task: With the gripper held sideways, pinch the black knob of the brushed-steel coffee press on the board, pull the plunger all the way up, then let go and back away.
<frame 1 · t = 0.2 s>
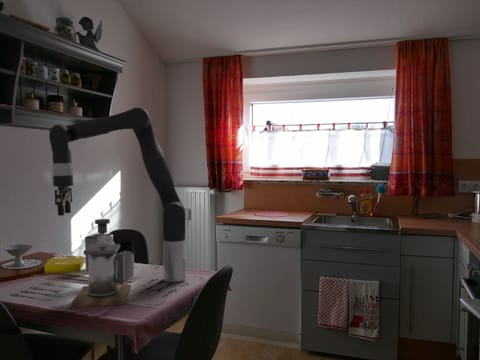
hand: (64, 214, 166), 29 cm above the table, tool pointing down, fingers open, 8 cm apart
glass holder: (124, 276, 179), on the table
plunger: (102, 234, 150), point 23 cm above the table, slide at 0.0 cm
press: (105, 270, 151), on the board, point 10 cm above the table
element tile: (64, 269, 190), on the table
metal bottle: (108, 282, 169), on the table
coffee box: (96, 269, 189), on the table
board: (103, 296, 152), on the table
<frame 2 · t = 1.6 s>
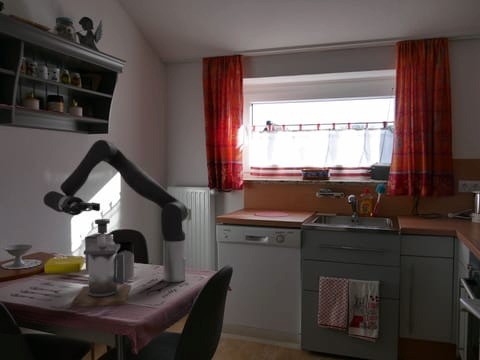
hand: (88, 209, 157), 32 cm above the table, tool horizontal, fingers open, 8 cm apart
nothing on the table moved.
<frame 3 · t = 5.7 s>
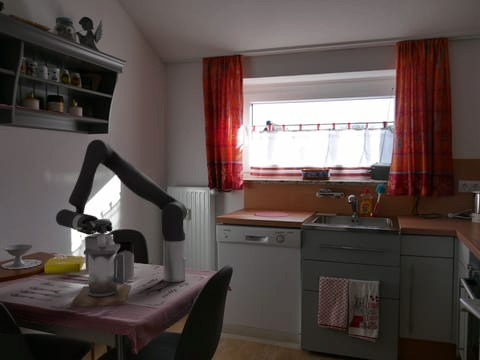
hand: (106, 229, 148), 26 cm above the table, tool horizontal, fingers closed on plunger, 3 cm apart
plunger: (102, 235, 150), point 23 cm above the table, slide at 0.0 cm, touching gripper
everything else where it was.
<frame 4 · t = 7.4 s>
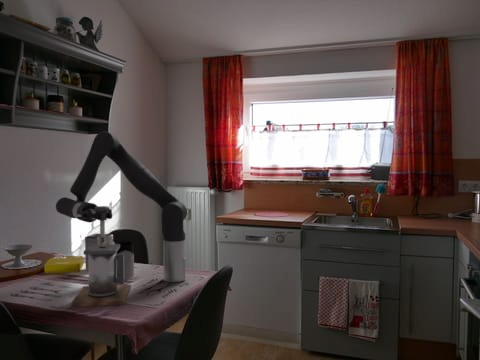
hand: (105, 216, 148), 31 cm above the table, tool horizontal, fingers closed on plunger, 3 cm apart
plunger: (102, 222, 150), point 28 cm above the table, slide at 4.8 cm, touching gripper
everything else where it was.
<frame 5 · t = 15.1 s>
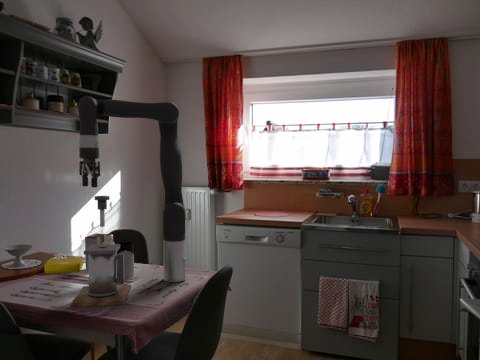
hand: (89, 186, 165), 40 cm above the table, tool pointing down, fingers open, 8 cm apart
plunger: (102, 211, 150), point 32 cm above the table, slide at 8.8 cm
everything else where it was.
at the end: plunger slide at 8.8 cm; the gripper is holding nothing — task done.
